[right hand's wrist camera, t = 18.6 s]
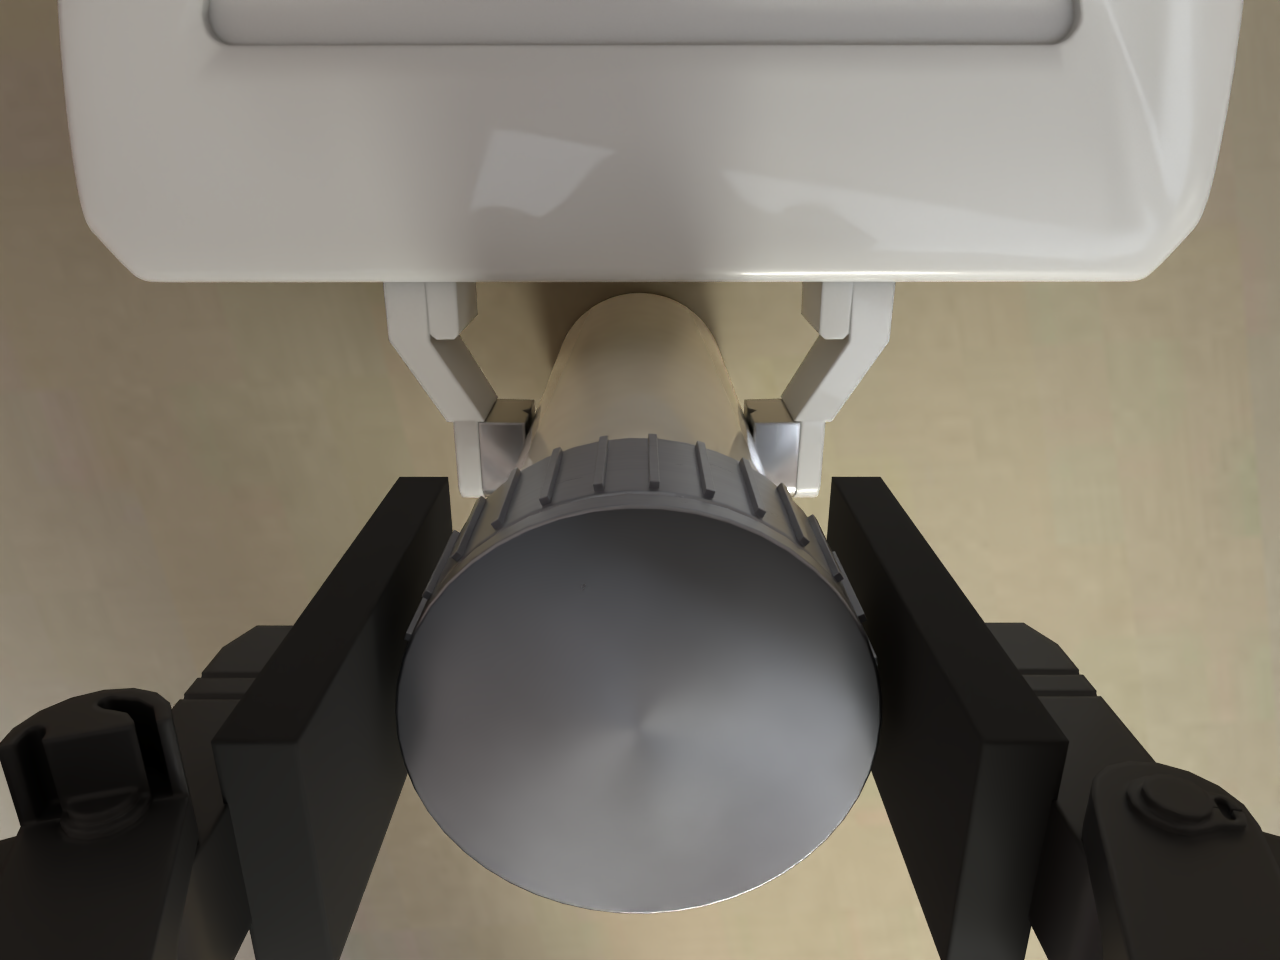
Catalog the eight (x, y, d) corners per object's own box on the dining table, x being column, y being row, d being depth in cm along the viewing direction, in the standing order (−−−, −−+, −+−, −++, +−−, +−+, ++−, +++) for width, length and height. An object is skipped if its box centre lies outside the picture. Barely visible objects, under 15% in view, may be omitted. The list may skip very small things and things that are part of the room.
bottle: (649, 486, 26) (659, 905, 12) (522, 386, 25) (365, 714, 11) (757, 366, 25) (917, 674, 11) (629, 256, 24) (612, 431, 10)
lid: (927, 649, 12) (987, 756, 10) (616, 855, 14) (612, 988, 11) (668, 338, 11) (676, 388, 9) (345, 604, 12) (281, 704, 10)
